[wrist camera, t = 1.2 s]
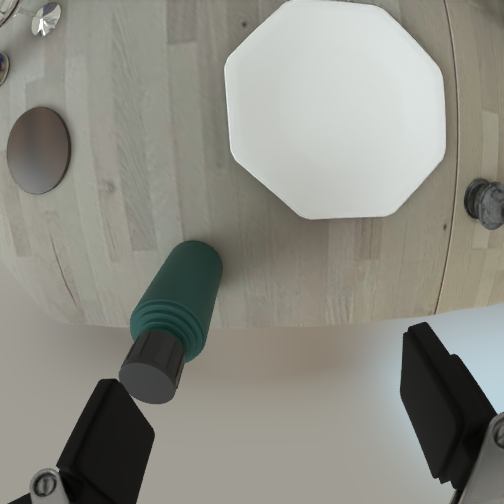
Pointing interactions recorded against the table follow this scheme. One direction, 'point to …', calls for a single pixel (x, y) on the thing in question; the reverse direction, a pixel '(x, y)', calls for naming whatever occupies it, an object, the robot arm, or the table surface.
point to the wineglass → (9, 4)
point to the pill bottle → (3, 67)
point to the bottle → (181, 297)
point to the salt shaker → (486, 203)
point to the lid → (38, 150)
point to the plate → (335, 109)
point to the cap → (153, 367)
